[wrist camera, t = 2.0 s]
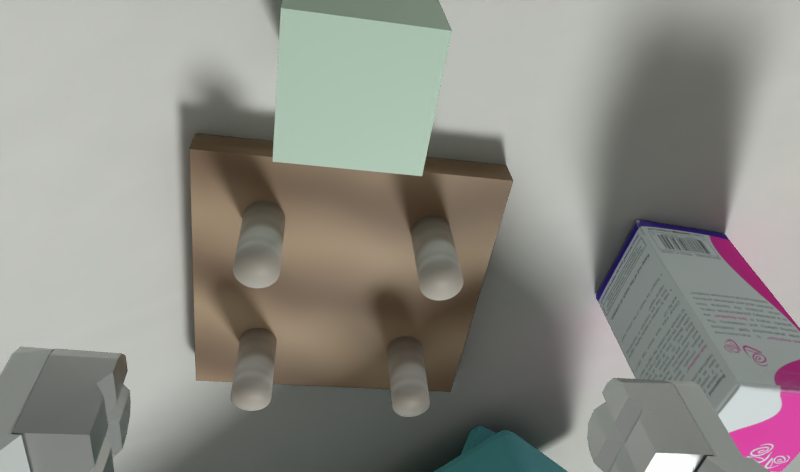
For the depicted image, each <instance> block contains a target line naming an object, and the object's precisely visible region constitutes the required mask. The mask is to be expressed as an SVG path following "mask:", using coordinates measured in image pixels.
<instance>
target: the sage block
mask: <svg viewBox="0 0 800 472" xmlns="http://www.w3.org/2000/svg"><path fill="white" fill-rule="evenodd" d="M451 33H452V30H451V28H450V25H449V23H448V21H447V19H446V16H445V14H444V12H443V9H442V7H441V5H440V3H439V0H282V5H281V13H280V32H279V50H278V69H277V87H276V106H275V125H274V143H273V162H282V163H292V164H302V165H312V166H323V167H333V168H343V169H353V170H364V171H374V172H384V173H394V174H404V175H415V176H422V174H423V170H424V165H425V160H426V155H427V150H428V145H429V140H430V135H431V130H432V126H433V121H434V116H435V111H436V106H437V101H438V96H439V91H440V87H441V82H442V77H443V72H444V67H445V62H446V57H447V52H448V47H449V43H450V38H451Z"/></svg>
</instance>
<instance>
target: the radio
mask: <svg viewBox="0 0 800 472" xmlns="http://www.w3.org/2000/svg"><path fill="white" fill-rule="evenodd" d="M433 472H567V471H566V470H565V469H563V468H562V467H561V466H559V465H558V464H556V463H555V462H554V461H552V460H551V459H550V458H548V457H547V456H545V455H544V454H543V453H541V452H540V451H539V450H537V449H536V448H534V447H533V446H532V445H530V444H529V443H528V442H526V441H525V440H523V439H522V438H521V437H519V436H518V435H516V434H515V433H513V432H510V431H507V430H503V431H500V432H498V433H495V432H493V431H491V430H489V429H488V428H486V427H484V426H482V425H478V426H477V427H475V428H473V429H472V430H471V431H470V433H469V435H468V438H467V440H466V443H465V445H464V448H463V450H462V453H461V455H460V456H458V457H457V458H455V459H453V460H452V461H450V462H448V463H447V464H445V465H443V466H442V467H440V468H438V469H437V470H435V471H433Z"/></svg>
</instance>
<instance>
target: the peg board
mask: <svg viewBox="0 0 800 472" xmlns="http://www.w3.org/2000/svg"><path fill="white" fill-rule="evenodd" d="M273 143H274V142H273V141H263V140H253V139H243V138H233V137H224V136H214V135H204V134H195V136H194V139H193V141H192V144H191V147H190V181H191V218H192V255H193V291H194V328H195V365H196V381H219V382H233V385H232V391H231V401H232V403H233V404H234V405H235V406H236V407H238V408H240V409H243V410H247V411H256V410H261V409H263V408H265V407H266V406H268V405H269V403H270V402H271V396H272V386H273V384H286V385H308V386H330V387H353V388H375V389H391V399H392V408H393V410H394V412H396V413H397V414H398V415H401V416H405V417H414V416H418V415H421V414H423V413H424V412H425V411H427V409H428V408H429V406H430V398H429V391H442V392H450V391H451V388H452V385H453V381H454V378H455V375H456V371H457V368H458V365H459V361H460V358H461V354H462V351H463V348H464V344H465V341H466V338H467V334H468V331H469V328H470V324H471V321H472V317H473V314H474V311H475V307H476V304H477V301H478V297H479V294H480V291H481V287H482V284H483V280H484V277H485V274H486V270H487V267H488V264H489V260H490V257H491V254H492V250H493V247H494V243H495V240H496V237H497V233H498V230H499V227H500V223H501V220H502V217H503V213H504V210H505V207H506V203H507V200H508V196H509V193H510V190H511V186H512V183H513V179H512V177H511V175H510V172H509V170H508V168H507V165H498V164H488V163H478V162H468V161H459V160H449V159H439V158H429V157H426V160H425V165H424V170H423V174H422V176H415V175H404V174H394V173H384V172H374V171H364V170H353V169H343V168H333V167H323V166H312V165H302V164H292V163H282V162H273Z"/></svg>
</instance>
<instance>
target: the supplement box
mask: <svg viewBox="0 0 800 472" xmlns="http://www.w3.org/2000/svg"><path fill="white" fill-rule="evenodd" d="M596 299H597V300H598V302H599V304H600V307H601V309H602V311H603V313H604V315H605V317H606V319H607V321H608V323H609V325H610V327H611V329H612V331H613V333H614V335H615V337H616V339H617V341H618V343H619V345H620V347H621V350H622V352H623V354H624V356H625V358H626V360H627V362H628V364H629V366H630V368H631V370H632V372H633V374H634V376H635V379H650V380H664V381H667V380H673V381H694V382H695V383H696V384H698V385H699V386H700V387H701V388H702V390H703V391H704V393H705V395H706V396H707V398H708V400H709V401H710V403H711V405H712V406H713V408H714V409H715V411H716V413H717V414H718V416H719V418H720V419H721V421H722V423H723V424H724V426H725V428H726V429H727V431H728V433H729V434H730V436H731V437H732V439H733V441H734V442H735V444H736V446H737V447H738V449H739V451H740V452H741V454H742V456H743V457H748V458H753V459H754V460H755V461H757V462H758V463H759V464H761V465H762V466H763V467H765V468H766V469H767V470H769V471H778V472H780V471H782V470H783V469H784V468H785V467H786V466H787V465H788V464H789V463H790V462H791V461H792V460H793V459H794V458H795V457H796V455H797V454H798V453H799V452H800V328H799V327H798V326H797V324H796V323H795V322H794V321H793V319H792V318H791V317H790V316H789V314H788V313H787V312H786V311H785V310H784V308H783V307H782V306H781V304H780V303H779V302H778V301H777V299H776V298H775V297H774V295H773V294H772V293H771V292H770V291H769V289H768V288H767V287H766V286H765V284H764V283H763V282H762V281H761V279H760V278H759V277H758V276H757V275H756V273H755V272H754V271H753V270H752V268H751V267H750V266H749V265H748V263H747V262H746V261H745V259H744V258H743V257H742V256H741V254H740V253H739V252H738V251H737V249H736V248H735V247H734V245H733V244H732V243H731V242H730V240H729V239H728V238H727V236H726V235H725V234H722V233H716V232H710V231H704V230H698V229H693V228H686V227H679V226H673V225H667V224H660V223H655V222H648V221H642V220H636V222H635V224H634V225H633V227H632V228H631V230H630V232H629V234H628V236H627V238H626V240H625V242H624V244H623V246H622V247H621V249H620V252H619V253H618V255H617V257H616V259H615V261H614V262H613V264H612V266H611V268H610V270H609V271H608V273H607V275H606V277H605V279H604V281H603V283H602V284H601V286H600V288H599V290H598V292H597V294H596Z"/></svg>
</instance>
